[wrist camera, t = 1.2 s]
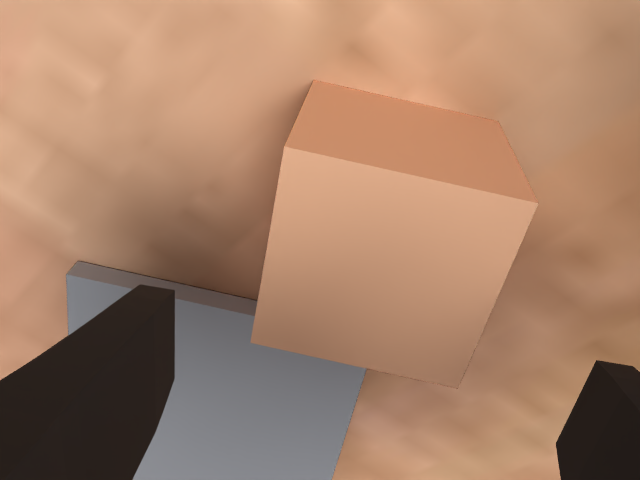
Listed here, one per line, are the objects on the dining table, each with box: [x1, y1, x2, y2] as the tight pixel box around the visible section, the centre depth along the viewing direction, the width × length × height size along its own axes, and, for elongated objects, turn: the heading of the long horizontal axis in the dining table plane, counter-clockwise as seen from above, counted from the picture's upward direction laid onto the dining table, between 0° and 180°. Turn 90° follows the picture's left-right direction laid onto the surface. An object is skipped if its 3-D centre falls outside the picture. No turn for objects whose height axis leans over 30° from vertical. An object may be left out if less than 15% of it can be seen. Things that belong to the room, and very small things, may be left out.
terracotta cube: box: [250, 80, 539, 389], centre depth 15 cm, size 5×5×5 cm
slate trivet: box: [66, 261, 366, 480], centre depth 21 cm, size 10×10×1 cm
